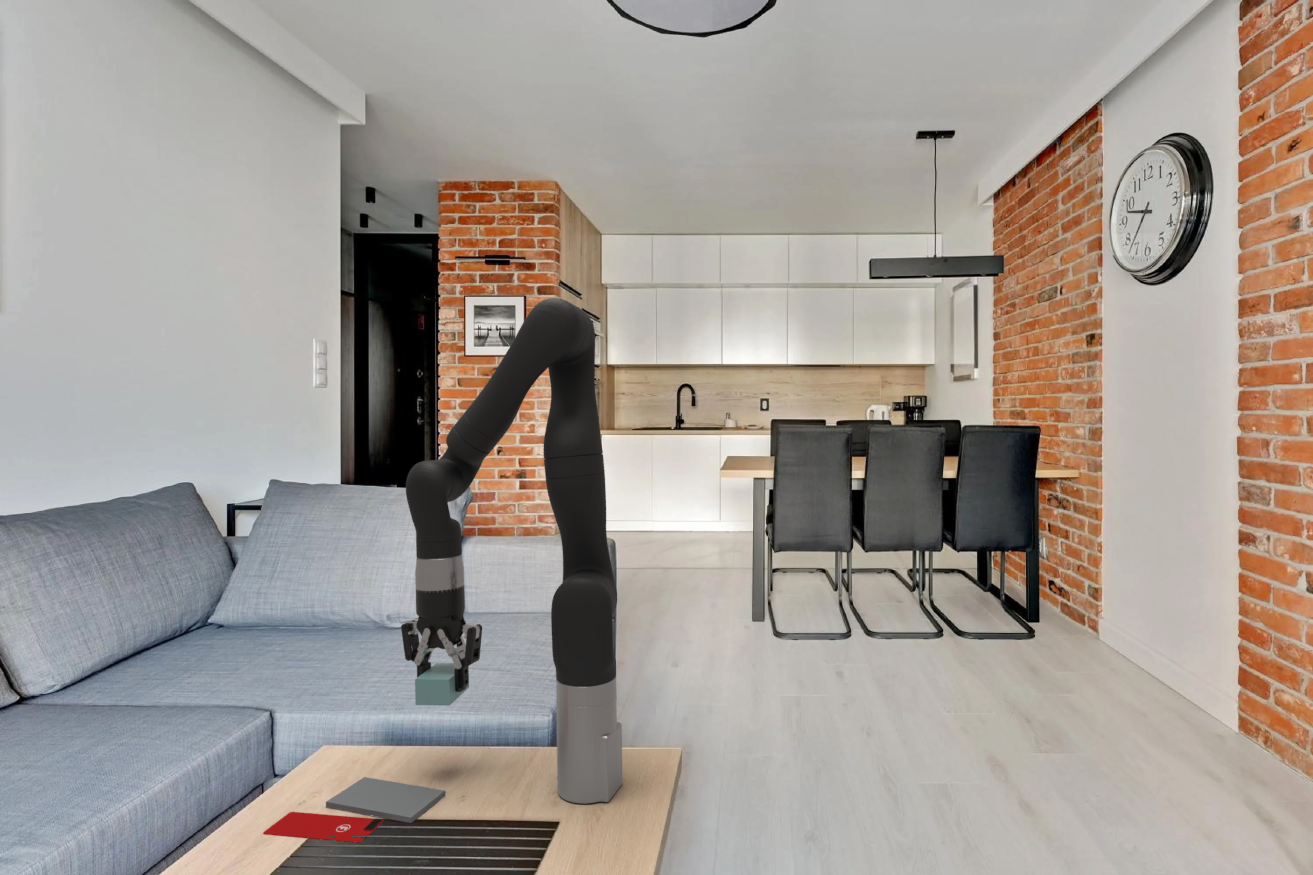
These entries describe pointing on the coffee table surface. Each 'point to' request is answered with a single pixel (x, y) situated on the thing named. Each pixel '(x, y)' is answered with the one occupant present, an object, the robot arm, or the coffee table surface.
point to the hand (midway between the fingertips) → (442, 688)
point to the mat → (386, 799)
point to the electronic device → (323, 827)
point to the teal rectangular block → (437, 686)
